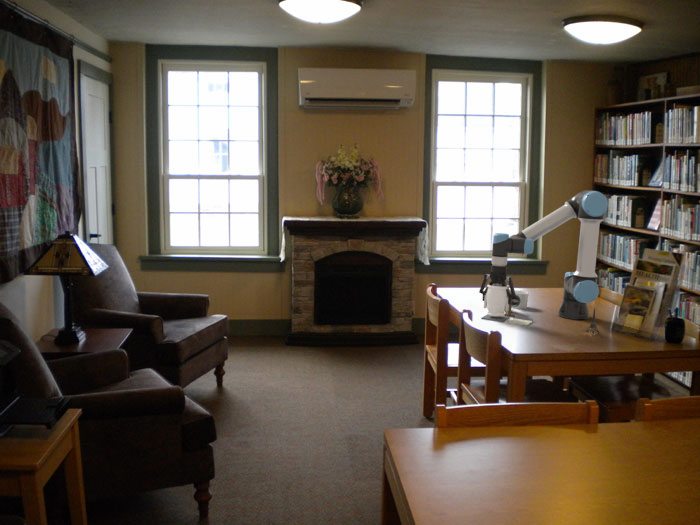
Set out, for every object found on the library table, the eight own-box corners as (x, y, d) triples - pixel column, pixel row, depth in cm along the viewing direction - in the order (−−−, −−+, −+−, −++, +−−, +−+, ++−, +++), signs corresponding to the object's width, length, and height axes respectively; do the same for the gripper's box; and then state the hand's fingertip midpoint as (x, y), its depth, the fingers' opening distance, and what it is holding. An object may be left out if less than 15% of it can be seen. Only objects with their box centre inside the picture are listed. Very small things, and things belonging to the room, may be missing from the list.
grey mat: (509, 318, 355) (509, 316, 354) (503, 322, 345) (503, 320, 345) (487, 315, 360) (488, 313, 359) (481, 319, 350) (481, 317, 350)
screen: (510, 309, 375) (512, 287, 374) (515, 316, 358) (516, 293, 356) (498, 308, 376) (500, 286, 374) (503, 316, 358) (504, 292, 356)
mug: (529, 306, 386) (530, 291, 385) (525, 309, 376) (526, 294, 375) (504, 303, 391) (505, 289, 390) (500, 306, 382) (501, 292, 381)
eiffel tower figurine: (577, 329, 337) (580, 302, 336) (600, 331, 336) (602, 303, 334) (581, 337, 323) (584, 308, 321) (605, 339, 321) (607, 310, 319)
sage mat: (532, 322, 347) (532, 320, 347) (527, 325, 339) (527, 324, 339) (514, 319, 351) (514, 318, 351) (509, 323, 343) (509, 321, 343)
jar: (505, 313, 356) (507, 283, 354) (508, 317, 346) (510, 287, 344) (484, 312, 357) (486, 282, 355) (486, 316, 347) (488, 286, 345)
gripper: (524, 266, 346) (521, 310, 350) (479, 261, 357) (476, 304, 360) (520, 268, 340) (517, 313, 343) (474, 263, 350) (471, 307, 353)
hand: (496, 309), depth 352 cm, fingers closed on jar, 10 cm apart
